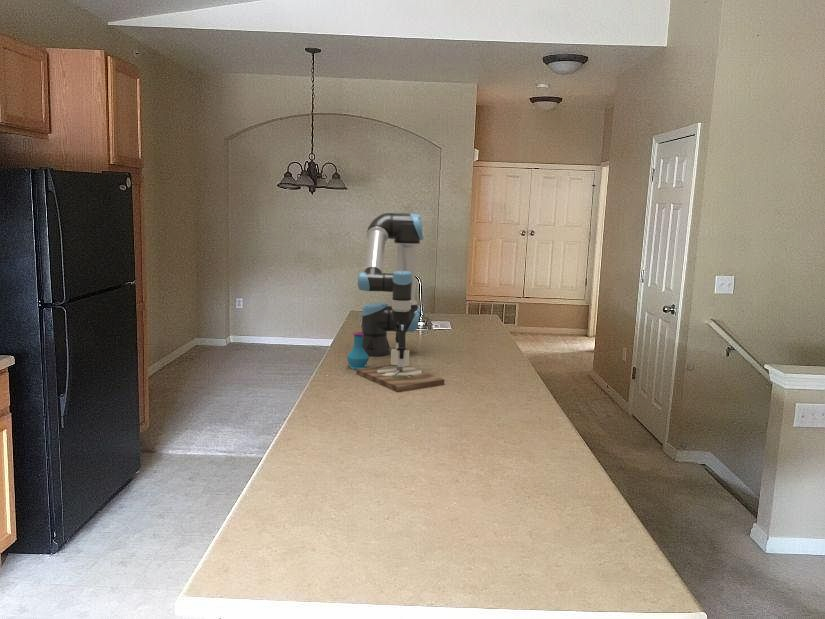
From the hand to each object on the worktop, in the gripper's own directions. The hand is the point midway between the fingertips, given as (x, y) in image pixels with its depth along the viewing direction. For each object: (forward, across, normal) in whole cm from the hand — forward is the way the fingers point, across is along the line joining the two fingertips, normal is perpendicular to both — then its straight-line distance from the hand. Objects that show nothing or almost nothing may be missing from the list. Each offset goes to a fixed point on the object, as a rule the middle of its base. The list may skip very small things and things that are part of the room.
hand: (399, 362), depth 265 cm
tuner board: (+6, -4, 0) cm, 7 cm away
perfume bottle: (+6, +15, +17) cm, 23 cm away
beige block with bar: (+4, -4, +1) cm, 6 cm away
